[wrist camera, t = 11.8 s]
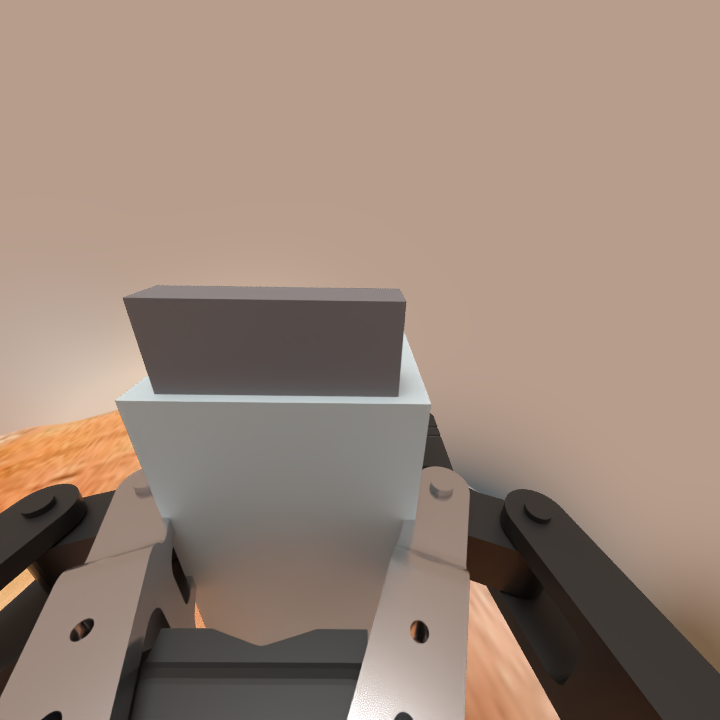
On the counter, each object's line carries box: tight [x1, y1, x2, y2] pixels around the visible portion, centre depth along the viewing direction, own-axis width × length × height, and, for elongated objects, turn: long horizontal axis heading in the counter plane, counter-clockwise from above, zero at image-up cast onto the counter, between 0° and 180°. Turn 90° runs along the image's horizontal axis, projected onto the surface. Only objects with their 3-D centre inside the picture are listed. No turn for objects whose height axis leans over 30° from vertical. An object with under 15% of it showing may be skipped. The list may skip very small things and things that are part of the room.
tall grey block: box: [115, 285, 431, 646], centre depth 10 cm, size 5×7×12 cm
